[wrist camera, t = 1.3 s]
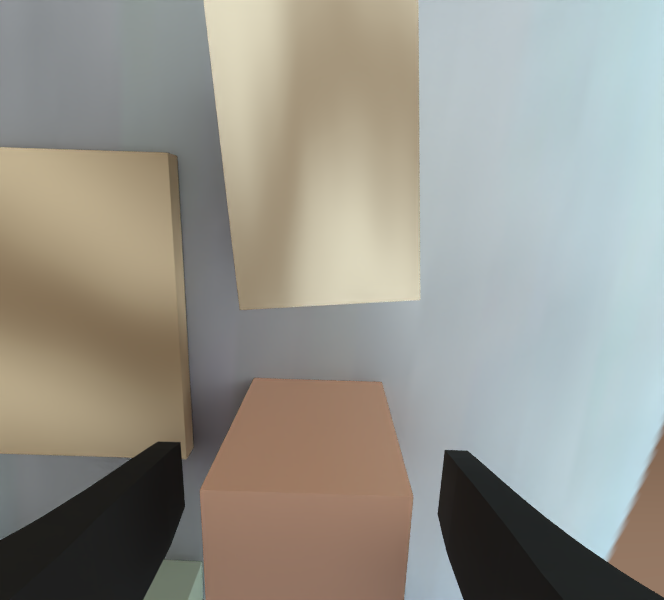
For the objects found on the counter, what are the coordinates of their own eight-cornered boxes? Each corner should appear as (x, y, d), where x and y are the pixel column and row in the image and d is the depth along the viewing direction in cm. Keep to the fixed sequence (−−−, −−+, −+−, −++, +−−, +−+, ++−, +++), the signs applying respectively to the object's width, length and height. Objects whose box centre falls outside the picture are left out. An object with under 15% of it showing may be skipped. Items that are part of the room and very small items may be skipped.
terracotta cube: (374, 490, 13) (398, 659, 8) (256, 487, 13) (208, 653, 8) (381, 381, 12) (413, 496, 7) (254, 377, 12) (200, 490, 7)
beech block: (280, 267, 11) (382, 261, 11) (240, 310, 6) (420, 300, 6) (263, 79, 10) (377, 71, 10) (198, -43, 5) (418, -58, 5)
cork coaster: (193, 447, 13) (186, 459, 12) (-83, 439, 13) (-103, 450, 12) (177, 155, 10) (167, 152, 10) (-153, 145, 10) (-182, 141, 10)
